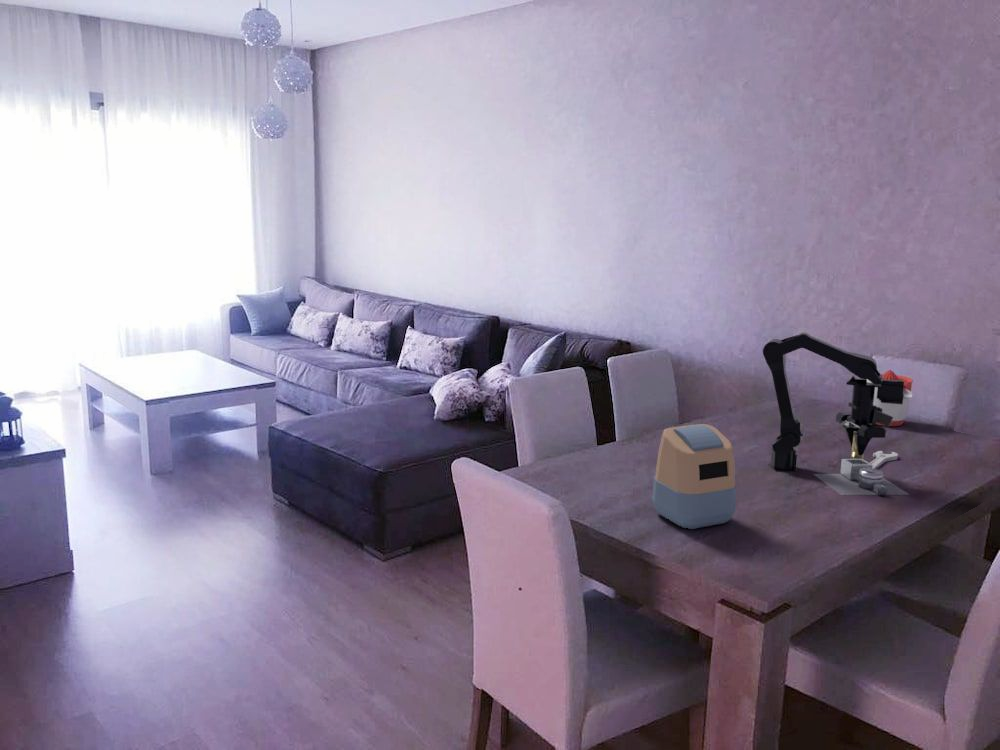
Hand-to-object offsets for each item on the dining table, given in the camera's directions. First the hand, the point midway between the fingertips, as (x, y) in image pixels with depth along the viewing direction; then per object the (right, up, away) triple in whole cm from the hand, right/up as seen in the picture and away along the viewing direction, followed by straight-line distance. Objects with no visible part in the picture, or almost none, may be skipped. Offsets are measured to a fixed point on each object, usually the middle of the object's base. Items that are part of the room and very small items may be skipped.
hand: (857, 453), depth 233 cm
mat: (-1, -9, -4) cm, 10 cm away
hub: (0, -9, -7) cm, 11 cm away
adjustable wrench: (+12, -5, +16) cm, 21 cm away
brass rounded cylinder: (0, -1, 0) cm, 1 cm away
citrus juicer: (+39, +5, +63) cm, 74 cm away
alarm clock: (-55, -14, -29) cm, 64 cm away
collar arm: (0, -8, -5) cm, 10 cm away
